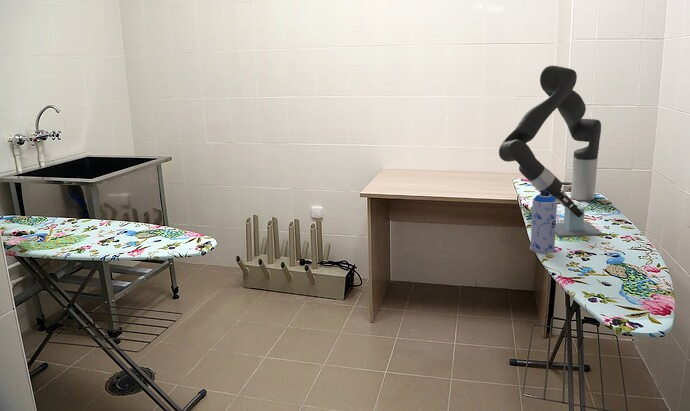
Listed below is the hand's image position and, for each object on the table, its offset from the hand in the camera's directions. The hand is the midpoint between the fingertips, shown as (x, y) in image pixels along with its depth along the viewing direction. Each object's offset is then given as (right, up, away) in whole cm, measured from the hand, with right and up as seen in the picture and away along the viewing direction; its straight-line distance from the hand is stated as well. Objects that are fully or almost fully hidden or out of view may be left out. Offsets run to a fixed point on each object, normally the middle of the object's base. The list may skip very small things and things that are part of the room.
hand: (576, 212), depth 202 cm
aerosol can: (-17, -12, -14) cm, 25 cm away
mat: (0, -6, +2) cm, 7 cm away
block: (0, -6, +2) cm, 6 cm away
